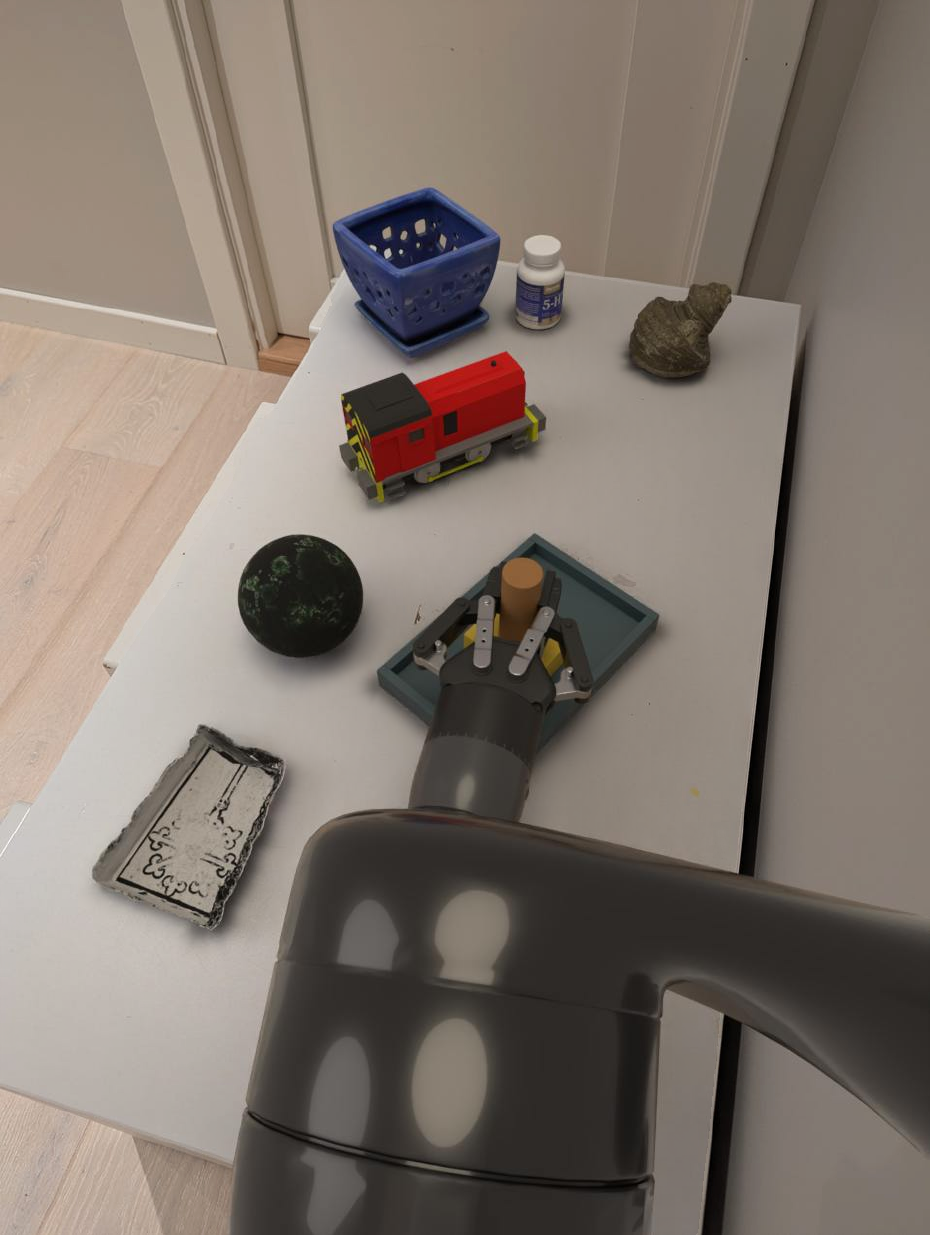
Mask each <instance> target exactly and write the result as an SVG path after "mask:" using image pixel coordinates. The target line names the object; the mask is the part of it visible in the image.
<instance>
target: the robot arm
mask: <svg viewBox="0 0 930 1235" xmlns="http://www.w3.org/2000/svg"><path fill="white" fill-rule="evenodd" d="M499 563H500V567H496V566H493V567H492V568H490V570H489V572H488V573H489V575H488V579H487V582H486V585H485V589H484V592H483V595H482V597H481V598H479V599H477V600H473V601H469V600H468V599H467V598H464V597H462V596H459V597H457V598H456V599H454V600H453V602H452V603H450V605H449V606H448V607H447V608H446V609H445V610H444V611H442V613H440V615H438V616H437V617H438V618H437V617H436V618H437V619H436V618H435V619H436V620H435V619H434V620H435V621H434V620H433V621H434V622H433V621H432V622H433V623H432V622H431V623H432V624H431V623H430V624H431V625H430V626H429V627H428V628H427V629H426V630H425V631H424V633H423V634H422V635H421V636H420V637H419V638H418V639H417V640H416V641H415V642H414V643H413V656H414V661H415V666H416V668H417V669H419V670H427V669H429V670H430V671H432V672H433V673H435V674H436V675H437V676H439V678H440V686H441V691H440V695H439V698H438V701H437V704H436V707H435V711H434V714H433V717H432V720H431V723H430V726H429V727H428V730H427V733H426V736H425V740H424V743H423V746H422V749H421V752H420V754H419V759H418V761H417V765H416V768H415V771H414V774H413V778H412V782H411V787H410V790H409V791H410V792H409V798H408V804H407V808H370V809H363V810H356V811H353V812H348V813H345V814H342V815H339V816H337V817H334V818H331V819H330V820H328V821H327V822H325V823H324V824H322V825H321V826H319V828H318V829H316V830H315V832H314V833H312V835H311V836H310V837H309V838H308V840H307V841H306V843H305V844H304V846H303V848H302V851H301V854H300V857H299V860H298V863H297V867H296V869H295V873H294V877H293V880H292V883H291V888H290V893H289V897H288V902H287V905H286V910H285V915H284V919H283V922H282V923H283V924H282V928H281V932H280V937H279V941H278V949H277V952H276V959H277V960H276V961H275V962H274V965H273V970H272V974H271V979H270V982H269V987H268V993H267V997H266V1002H265V1006H264V1007H265V1008H264V1010H263V1015H262V1021H261V1024H260V1025H261V1026H260V1030H259V1035H258V1039H257V1044H256V1049H255V1053H254V1058H253V1063H252V1067H251V1072H250V1076H249V1082H248V1086H247V1091H246V1095H245V1100H244V1101H245V1103H246V1107H245V1108H243V1112H242V1118H241V1123H240V1127H239V1131H238V1136H237V1142H236V1147H235V1152H234V1156H233V1163H232V1169H231V1174H230V1183H229V1193H228V1195H229V1196H228V1207H227V1226H226V1227H227V1229H226V1230H227V1235H652V1228H653V1227H652V1226H653V1213H654V1212H653V1211H654V1199H655V1185H656V1179H655V1176H654V1172H655V1158H656V1137H657V1136H656V1135H657V1134H656V1133H657V1116H658V1115H657V1113H658V1112H657V1111H658V1095H659V1094H658V1091H659V1090H658V1088H659V1068H660V1066H659V1065H660V1048H661V1046H660V1045H661V1027H662V1021H661V1018H662V1017H663V1013H664V998H665V993H666V991H669V992H672V993H674V994H677V995H679V996H681V997H683V998H686V999H689V1000H691V1001H693V1002H695V1003H698V1004H700V1005H703V1006H705V1007H707V1008H710V1009H712V1010H715V1011H716V1012H719V1013H721V1014H723V1015H725V1016H727V1017H729V1018H731V1019H734V1020H735V1021H737V1022H739V1023H741V1024H743V1025H745V1026H747V1027H749V1028H750V1029H752V1030H754V1031H756V1032H757V1033H759V1034H761V1035H762V1036H764V1037H766V1038H768V1039H769V1040H771V1041H773V1042H774V1043H776V1044H778V1045H779V1046H781V1047H783V1048H785V1049H787V1051H790V1052H791V1053H793V1054H795V1055H796V1056H797V1057H799V1058H800V1059H802V1060H803V1061H804V1062H806V1063H808V1064H809V1065H810V1066H812V1067H814V1068H815V1069H816V1070H818V1071H819V1072H821V1073H822V1074H824V1075H825V1076H826V1077H827V1078H829V1079H831V1081H833V1082H835V1083H836V1084H837V1085H839V1086H840V1087H841V1088H843V1089H844V1090H846V1091H847V1092H848V1093H850V1094H851V1095H852V1096H854V1097H855V1098H856V1099H857V1100H859V1101H860V1102H862V1103H863V1104H864V1105H865V1106H867V1107H868V1108H869V1109H870V1110H872V1112H874V1113H875V1114H876V1115H877V1116H878V1117H880V1118H881V1120H883V1121H884V1122H885V1123H886V1124H887V1125H888V1126H890V1127H891V1128H892V1129H893V1130H894V1131H896V1133H898V1134H899V1135H900V1136H901V1137H902V1138H904V1139H905V1140H906V1141H907V1142H908V1143H909V1144H910V1145H911V1146H912V1147H913V1148H914V1149H915V1150H917V1151H918V1152H919V1154H921V1155H922V1156H923V1157H924V1158H925V1159H926V1160H927V1161H928V1162H929V1163H930V916H928V915H924V914H917V913H913V912H909V911H903V910H899V909H894V908H889V907H885V906H880V905H875V904H871V903H870V904H869V903H866V902H861V901H856V900H852V899H848V898H844V897H839V896H835V895H831V894H826V893H822V892H817V891H814V890H809V889H805V888H800V887H797V886H792V885H788V884H784V883H781V882H776V881H772V880H767V879H763V878H759V877H756V876H755V877H754V876H752V875H751V876H750V875H747V874H742V873H739V872H734V871H731V870H727V869H722V868H718V867H714V866H709V865H706V864H701V863H697V862H692V861H689V860H684V859H680V858H676V857H672V856H668V855H664V854H660V853H656V852H652V851H647V850H643V849H639V848H636V847H631V846H628V845H623V844H620V843H619V844H618V843H615V842H611V841H607V840H602V839H598V838H592V837H589V836H584V835H580V834H574V833H570V832H566V831H561V830H556V829H553V828H552V829H551V828H547V827H543V826H537V825H535V824H528V823H524V822H521V817H522V815H523V812H524V808H525V803H526V801H527V799H528V797H529V793H530V792H529V791H530V781H531V776H532V773H533V768H534V764H535V761H536V760H535V759H536V755H537V754H536V751H537V747H538V743H539V738H540V734H541V729H542V725H543V721H544V718H545V716H546V714H547V713H548V712H549V711H550V710H551V709H552V708H553V706H554V704H555V701H561V700H568V699H574V700H575V702H577V703H579V704H584V705H586V704H587V703H588V702H589V701H590V699H591V698H590V694H591V689H592V684H593V677H592V673H591V670H590V667H589V663H588V660H587V657H586V653H585V650H584V646H583V643H582V640H581V636H580V633H579V630H578V626H577V623H576V621H575V620H573V619H571V618H565V619H563V618H562V617H560V616H559V615H558V614H557V609H558V605H559V601H560V597H561V590H562V582H561V579H559V578H555V575H556V571H553V570H547V571H546V575H545V579H544V582H543V586H542V590H541V597H540V600H539V602H538V609H537V615H536V617H535V619H534V621H533V623H532V625H531V627H529V628H528V630H527V632H526V634H525V636H524V638H523V640H522V642H521V641H506V640H504V639H502V638H499V637H496V636H494V621H495V617H496V614H500V600H501V584H502V570H503V567H504V566H505V564H506V563H507V562H505V561H503V560H501V561H500V562H499ZM470 624H477V625H476V637H475V641H474V642H473V643H471V644H470V645H469V646H467V647H466V648H464V649H463V650H462V651H460V652H459V653H457V654H456V655H454V656H453V657H452V658H450V659H449V660H447V661H445V659H446V657H447V648H448V647H449V646H450V645H451V644H452V643H453V642H454V641H455V640H456V639H457V638H458V637H459V636H460V635H461V634H462V632H463V631H464V630H465V629H466V628H467V627H468V626H469V625H470ZM550 638H551V639H553V640H554V641H556V642H558V645H559V648H560V652H561V655H562V659H563V663H564V666H565V669H563V670H562V672H561V676H560V681H559V682H558V683H556V684H554V682H553V680H552V679H551V677H550V675H549V673H548V671H547V669H546V667H545V666H544V664H543V662H542V660H541V659H542V656H543V653H544V650H545V648H546V646H547V643H548V641H549V639H550Z"/></svg>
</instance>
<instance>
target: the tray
mask: <svg viewBox="0 0 930 1235" xmlns="http://www.w3.org/2000/svg"><path fill="white" fill-rule="evenodd" d="M515 558H529V559H532V560H534V561H536V562H537V563H538V564H539V565H540V566H541V568H542V570H543V581H542V586H543V582H544V579H545V575H546V571H547V570H553V571H556V575H555V578H559V579H561V582H562V590H561V597H560V601H559V605H558V609H557V614H558V615H559V616H560V617H562V618H563V619H565V618H571V619H573V620H575V621H576V623H577V626H578V630H579V633H580V636H581V640H582V643H583V646H584V650H585V653H586V657H587V660H588V663H589V667H590V670H591V673H592V677H593V684H592V689H591V694H590V699H591V698H592V697H593V696H594V695H595V694H596V693H597V692H598V691H599V690H600V689H601V688H602V687H603V686H604V684H605V683H606V682H607V681H608V680H609V679H611V677H612V676H613V675H614V674H615V673H616V672H617V671H618V670H619V669H620V668H622V666H623V665H624V664H625V663H626V662H627V661H628V660H629V659H630V658H631V656H632V655H634V653H635V652H636V651H637V650H638V649H639V648H640V647H641V646H643V644H644V643H645V642H646V641H647V640H648V639H649V638H650V637H651V636H652V635H653V634H654V632H656V630H657V626H658V623H659V619H660V616H661V615H660V613H658V612H656V611H655V610H654V609H653V608H650V607H649V606H647V605H646V604H645V603H642V602H641V601H640V600H638V599H636V598H635V597H633V595H630V594H629V593H627V592H626V591H624V590H623V589H621V588H620V587H618V586H617V585H615V584H614V583H612V582H610V581H609V580H607V579H606V578H604V577H603V576H601V575H600V574H598V573H596V572H595V571H593V569H590V568H589V567H587V566H586V565H584V564H583V563H582V562H580V561H578V560H577V559H575V558H574V557H572V556H571V555H569V554H568V553H566V552H565V551H563V550H561V549H560V548H558V547H556V546H555V545H554V544H552V543H551V542H549V541H548V540H546V538H543V537H542V536H540V535H539V534H537V533H535V532H534V533H532V535H530V536H529V537H528V538H527V539H526V540H525V541H523V542H522V543H521V544H520V545H519V546H518V547H517V548H515V550H513V551H512V552H511V553H509V554H508V555H507V556H506V557H505V558H504V559H503V560H502V561H505V562H509V561H510V560H512V559H515ZM500 563H501V562H499V563H498V564H497V565H496V566H495V567H500ZM488 575H489V572H488V573H486V575H484V576H483V577H482V578H481V579H480V580H478V581H477V582H476V583H475V584H474V585H473V586H472V587H470V588H469V589H468V590H467V591H466V592H465V593H464V594H463V595H461V597H464V598H467V599H468V600H469V601H473V600H477V599H479V598H481V597H482V595H483V592H484V589H485V585H486V582H487V579H488ZM438 617H439V616H437V617H436V618H435V619H434V620H432V621H431V622H430V623H429V624H428V625H427V626H426V627H425V628H424V629H422V630H421V631H420V632H418V634H417V635H415V636H414V637H413V638H412V639H411V640H409V641H408V642H407V643H406V644H405V645H404V646H403V647H401V649H400V650H398V651H397V652H396V653H395V654H394V655H392V657H390V658H389V659H388V660H387V661H385V663H384V664H382V665H381V666H379V667H378V669H376V676H377V679H378V685H379V687H381V688H382V689H383V690H385V691H386V692H387V693H388V694H389V695H391V696H392V697H393V698H395V699H396V700H397V701H398V702H399V703H400V704H402V706H404V707H406V709H408V710H409V711H410V712H411V713H413V714H414V715H415V716H416V717H417V718H418V719H419V720H421V722H423V723H424V724H426V726H429V727H430V723H431V720H432V717H433V714H434V711H435V707H436V704H437V701H438V698H439V695H440V691H441V686H440V678H439V676H437V675H436V674H435V673H433V672H432V671H430V670H429V669H427V670H419V669H417V668H416V666H415V661H414V656H413V643H414V642H415V641H416V640H417V639H418V638H419V637H420V636H421V635H422V634H423V633H424V631H425V630H426V629H427V628H428V627H429V626H430V625H431V624H432V623H433V622H434V621H435V620H436V619H437V618H438ZM473 625H474V624H470V625H469V626H468V627H467V628H466V629H465V630H464V631H463V632H462V634H461V635H460V636H459V637H458V638H457V639H456V640H455V641H454V642H453V643H452V644H451V645H450V646H449V647H448V648H447V657H446V659H445V661H447V660H449V659H450V658H452V657H453V656H454V655H456V654H457V653H459V652H460V651H462V650H463V649H464V634H465V633H466V632H467V631H468V630H469V629H470V628H471V627H472V626H473ZM563 669H565V666H564V663H563V664H562V665H561V666H560V667H559V668H558V669H557V670H556V671H555V672H554V673H553V674H552V676H551V679H552V680H553V682H554V684H556V683H558V682H559V681H560V676H561V672H562V670H563ZM583 706H585V704H579V703H577V702H575V700H574V699H568V700H561V701H555V704H554V706H553V708H552V709H551V710H550V711H549V712H548V713H547V714H546V716H545V718H544V721H543V725H542V729H541V734H540V738H539V743H538V747H537V751H536V755H538V753H539V752H540V751H541V750H542V749H543V748H544V747H545V746H546V745H547V744H548V743H549V742H550V741H551V740H552V739H553V738H554V737H555V735H557V733H558V732H559V731H560V730H562V728H563V727H564V726H565V725H566V724H567V723H568V722H569V721H570V720H571V719H572V718H573V717H574V716H575V715H576V714H577V712H579V710H581V709H582V707H583Z"/></svg>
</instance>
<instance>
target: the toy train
mask: <svg viewBox="0 0 930 1235" xmlns="http://www.w3.org/2000/svg"><path fill="white" fill-rule="evenodd" d="M525 374H526V372H525V370H524V369H523V367H522V366H521V365H520V364H519V362H517V360H515V358H514V357H513V356H512V355H511V354H510V353H509V352H508V350H505V351H501V352H499V353H496V354H494V355H491V356H488V357H486V358H483V359H480V360H478V361H474V362H472V363H469V364H467V365H464V366H462V367H461V366H460V367H459V368H455V369H452V370H449V371H447V372H445V373H442V374H439V375H436V376H433V377H431V378H428V379H425V380H423V381H420V382H416V383H414V382H413V381H412V380H411V379H410V377H409V376H408V375H407V374H406V373H404V372H403V371H402V372H400V373H397V374H393V375H391V376H388V377H385V378H383V379H380V380H376V381H374V382H371V383H369V384H366V385H363V386H360V387H358V388H354V389H352V390H349V391H347V392H343V393H341V394H340V402H341V408H342V412H343V413H342V414H343V419H344V420H343V421H344V425H345V431H346V437H347V440H346V442H344V443H342V444H339V445H338V448H339V453H340V454H339V455H340V458H341V460H342V461H343V463H344V465H345V467H346V468H348V470H349V472H350V473H352V472H356V476H357V482H358V486H359V487H360V489H361V490H362V492H363V494H364V495H365V496H366V498H367V500H369V501H370V500H372V499H375V498H376V500H377V501H378V503H382V502H385V495H384V494H385V493H384V490H386V496H387V498H388V499H389V501H391V500H394V499H397V498H399V497H402V496H405V495H406V491H405V490H404V486H406V485H405V482H406V481H409V480H411V479H414V480H415V481H416V482H418V483H421V484H422V483H423V484H426V483H432V482H433V481H434V480H437V479H440V478H441V477H444V476H447V475H449V474H452V473H454V472H458V471H459V470H462V469H464V468H468V467H469V466H472V465H475V464H476V463H477V464H478V463H482V462H483V461H484V460H485V459H486V458H487V457H488V456H489V455H490V452H491V450H492V449H491V448H493V447H495V446H498V445H501V444H503V443H506V442H507V441H510V440H511V447H512V448H513V449H514V450H515V451H517V450H519V449H521V448H524V447H526V446H528V445H529V444H528V442H527V441H526V439H529V440H531V442H536V441H538V436H539V433H541V432H543V431H545V430H546V428H547V416H546V415H545V414H544V412H542V410H541V409H540V407H538V406H537V404H535V403H533V404H531V405H528V403H527V402H526V394H527V392H526V390H527V381H526V375H525ZM462 459H466V461H467V462H465V463H463V464H461V465H459V466H456V467H454V468H451V469H449V470H446V471H444V472H440V471H441V468H442V467H445V466H447V465H450V464H452V463H455V462H457V461H460V460H462Z"/></svg>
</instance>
